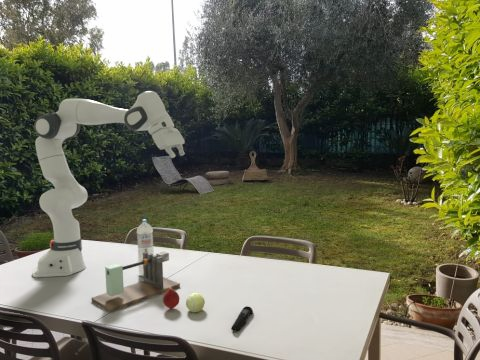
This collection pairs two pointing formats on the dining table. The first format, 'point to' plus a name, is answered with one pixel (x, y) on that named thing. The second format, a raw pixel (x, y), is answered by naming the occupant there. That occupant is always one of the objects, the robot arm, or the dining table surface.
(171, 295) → the onion
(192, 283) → the dining table surface
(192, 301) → the tennis ball
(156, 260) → the cord rig
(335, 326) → the dining table surface
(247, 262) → the dining table surface
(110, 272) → the sleeve
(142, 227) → the water bottle
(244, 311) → the electric trimmer
